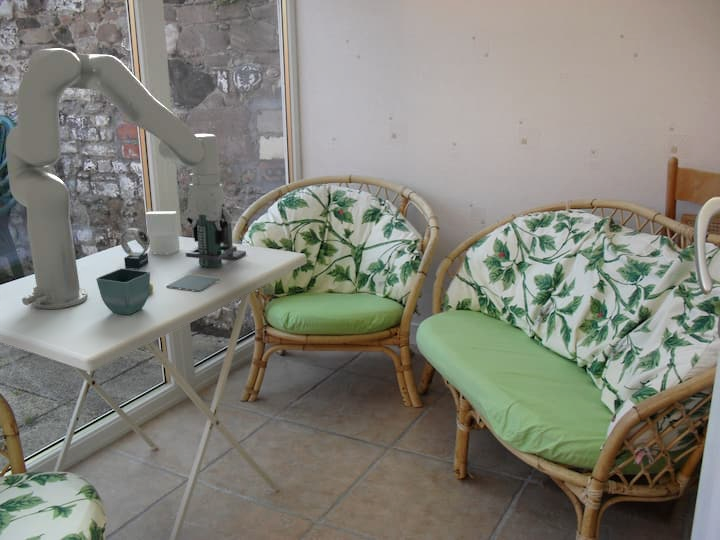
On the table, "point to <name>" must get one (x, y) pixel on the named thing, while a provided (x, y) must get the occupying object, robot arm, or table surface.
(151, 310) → the table surface
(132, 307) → the flower pot
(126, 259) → the watch
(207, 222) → the can
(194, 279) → the coaster
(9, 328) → the table surface
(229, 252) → the ring stand
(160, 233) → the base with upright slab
